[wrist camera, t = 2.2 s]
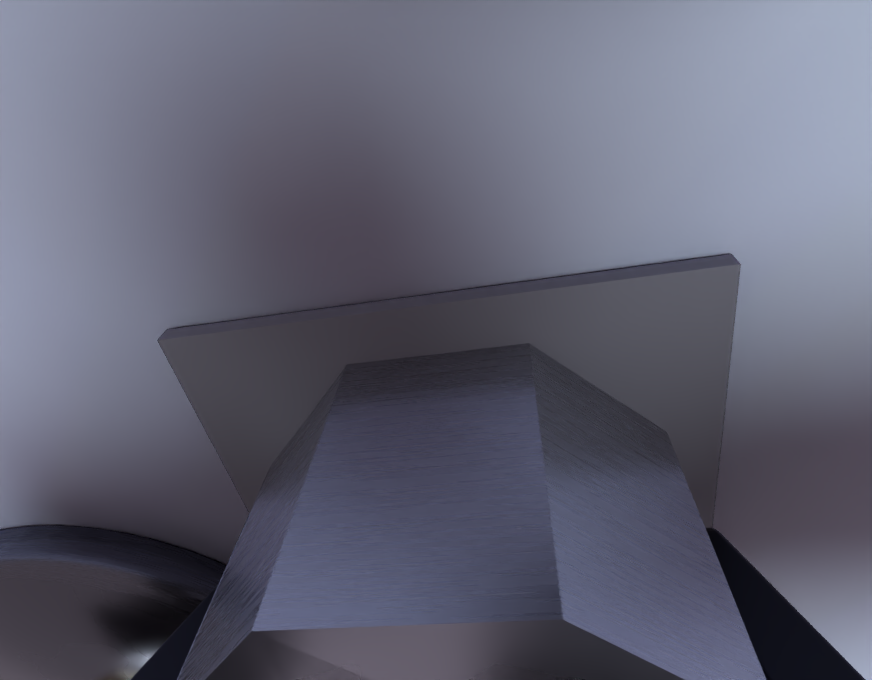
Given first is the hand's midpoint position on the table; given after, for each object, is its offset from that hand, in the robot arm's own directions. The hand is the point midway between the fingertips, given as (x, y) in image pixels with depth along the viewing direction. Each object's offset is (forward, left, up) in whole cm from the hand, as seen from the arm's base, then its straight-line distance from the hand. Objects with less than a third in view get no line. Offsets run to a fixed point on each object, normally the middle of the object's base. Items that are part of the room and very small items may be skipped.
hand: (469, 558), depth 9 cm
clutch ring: (0, 0, -1) cm, 1 cm away
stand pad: (0, 0, -1) cm, 1 cm away
